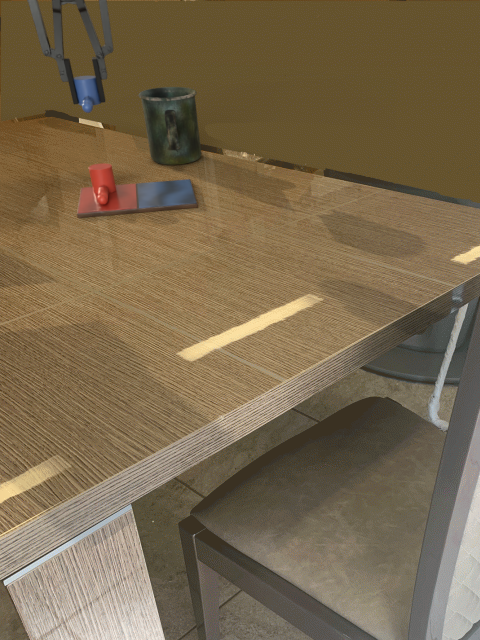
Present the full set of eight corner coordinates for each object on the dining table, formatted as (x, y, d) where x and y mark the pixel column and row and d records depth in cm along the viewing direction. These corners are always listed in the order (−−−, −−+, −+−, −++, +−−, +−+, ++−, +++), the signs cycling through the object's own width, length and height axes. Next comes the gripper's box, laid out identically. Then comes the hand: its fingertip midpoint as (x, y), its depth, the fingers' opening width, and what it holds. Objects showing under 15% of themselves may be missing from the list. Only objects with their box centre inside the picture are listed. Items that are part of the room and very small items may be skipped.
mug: (202, 149, 134) (195, 85, 126) (206, 169, 122) (198, 100, 115) (149, 152, 132) (138, 88, 125) (148, 173, 121) (136, 103, 113)
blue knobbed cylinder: (100, 112, 105) (94, 85, 102) (76, 114, 104) (69, 87, 102) (101, 100, 113) (96, 75, 110) (79, 102, 112) (73, 76, 109)
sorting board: (77, 218, 102) (76, 213, 101) (81, 191, 112) (80, 187, 112) (197, 207, 105) (197, 203, 105) (190, 182, 116) (190, 178, 116)
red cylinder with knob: (115, 205, 104) (110, 179, 102) (91, 207, 104) (85, 181, 101) (116, 186, 112) (111, 162, 110) (94, 188, 111) (89, 164, 109)
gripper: (-10, -69, 92) (36, 109, 106) (111, -71, 95) (140, 102, 109) (-3, -69, 98) (40, 100, 112) (110, -71, 101) (138, 94, 115)
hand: (89, 101), depth 111 cm, fingers closed on blue knobbed cylinder, 4 cm apart
